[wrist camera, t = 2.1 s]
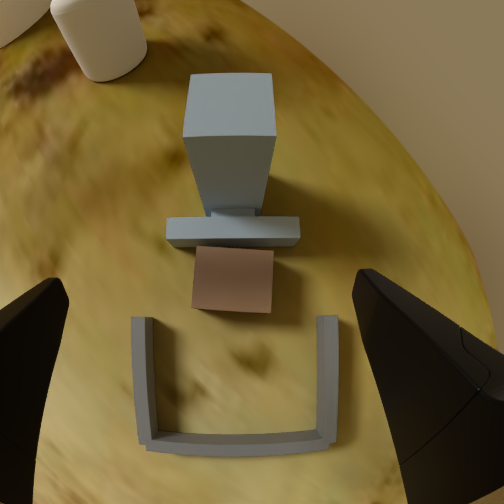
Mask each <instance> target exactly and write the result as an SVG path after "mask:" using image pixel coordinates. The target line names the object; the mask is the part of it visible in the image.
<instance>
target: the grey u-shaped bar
mask: <svg viewBox="0 0 504 504" xmlns="http://www.w3.org/2000/svg"><path fill="white" fill-rule="evenodd" d="M131 345H132V371H133V387H134V400H135V412H136V421H137V430H138V438H139V444H142V445H146V451H152V452H160V453H170V454H181V455H195V456H221V457H244V456H270V455H285V454H296V453H305V452H314V451H321V450H328V449H329V444H331V443H336V435H337V415H338V379H339V340H338V315H328V316H317V422H316V430H308V431H298V432H286V433H271V434H243V435H220V434H192V433H177V432H166V431H158V421H157V409H156V395H155V378H154V355H153V317H131Z"/></svg>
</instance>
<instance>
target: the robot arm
mask: <svg viewBox="0 0 504 504" xmlns="http://www.w3.org/2000/svg"><path fill="white" fill-rule="evenodd" d="M352 299H353V303H354V307H355V312H356V316H357V320H358V324H359V329H360V333H361V337H362V341H363V345H364V348H365V351H366V354H367V357H368V360H369V363H370V366H371V369H372V372H373V375H374V378H375V381H376V384H377V387H378V391H379V394H380V397H381V400H382V404H383V407H384V410H385V414H386V417H387V421H388V424H389V428H390V432H391V435H392V439H393V443H394V446H395V450H396V454H397V458H398V462H399V465H400V471H401V475H402V479H403V484H404V488H405V493H406V497H407V502H408V504H504V355H503V354H502V353H500V352H498V351H497V350H495V349H494V348H492V347H490V346H489V345H487V344H486V343H484V342H482V341H481V340H480V339H478V338H477V337H475V336H474V335H472V334H471V333H469V332H468V331H466V330H465V329H464V328H462V327H460V326H459V325H458V324H456V323H455V322H453V321H452V320H450V319H449V318H447V317H446V316H444V315H443V314H441V313H440V312H438V311H437V310H435V309H434V308H432V307H431V306H429V305H428V304H426V303H425V302H423V301H422V300H420V299H419V298H417V297H416V296H414V295H413V294H411V293H410V292H408V291H407V290H405V289H403V288H402V287H400V286H399V285H397V284H396V283H394V282H392V281H391V280H389V279H388V278H386V277H385V276H383V275H381V274H380V273H378V272H377V271H375V270H373V269H370V268H369V269H360V270H358V272H357V274H356V279H355V283H354V287H353V291H352ZM68 307H69V298H68V296H67V293H66V291H65V289H64V286H63V284H62V281H61V280H60V279H59V278H47V279H45V280H44V281H42V282H41V283H39V284H38V285H36V286H35V287H33V288H32V289H30V290H29V291H27V292H26V293H24V294H23V295H21V296H20V297H18V298H17V299H15V300H14V301H12V302H11V303H10V304H8V305H7V306H5V307H4V308H3V309H1V310H0V504H33V486H34V474H35V464H36V460H35V459H36V454H37V447H38V440H39V434H40V428H41V422H42V417H43V412H44V407H45V402H46V398H47V393H48V389H49V385H50V381H51V377H52V373H53V369H54V365H55V362H56V358H57V355H58V351H59V347H60V343H61V339H62V334H63V329H64V325H65V320H66V316H67V312H68Z"/></svg>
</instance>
